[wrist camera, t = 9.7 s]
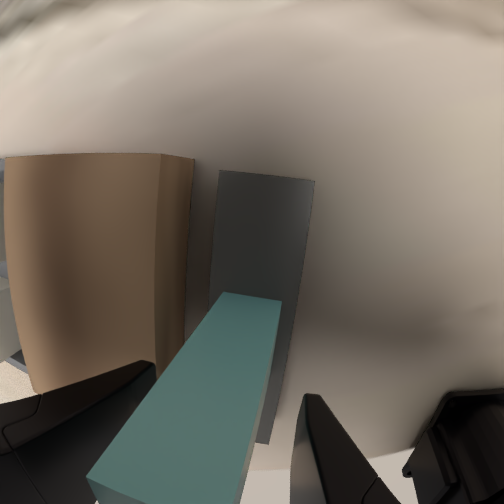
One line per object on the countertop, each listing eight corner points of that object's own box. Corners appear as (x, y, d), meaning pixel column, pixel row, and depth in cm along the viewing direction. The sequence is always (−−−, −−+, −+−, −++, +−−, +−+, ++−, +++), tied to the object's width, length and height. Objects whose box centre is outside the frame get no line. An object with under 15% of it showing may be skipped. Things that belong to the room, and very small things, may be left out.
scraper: (313, 181, 11) (357, 175, 2) (273, 416, 14) (231, 604, 4) (233, 171, 12) (1, 159, 2) (213, 405, 14) (134, 577, 5)
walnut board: (194, 159, 12) (161, 154, 9) (184, 408, 15) (162, 447, 12) (49, 157, 13) (5, 157, 10) (63, 366, 16) (33, 391, 13)
